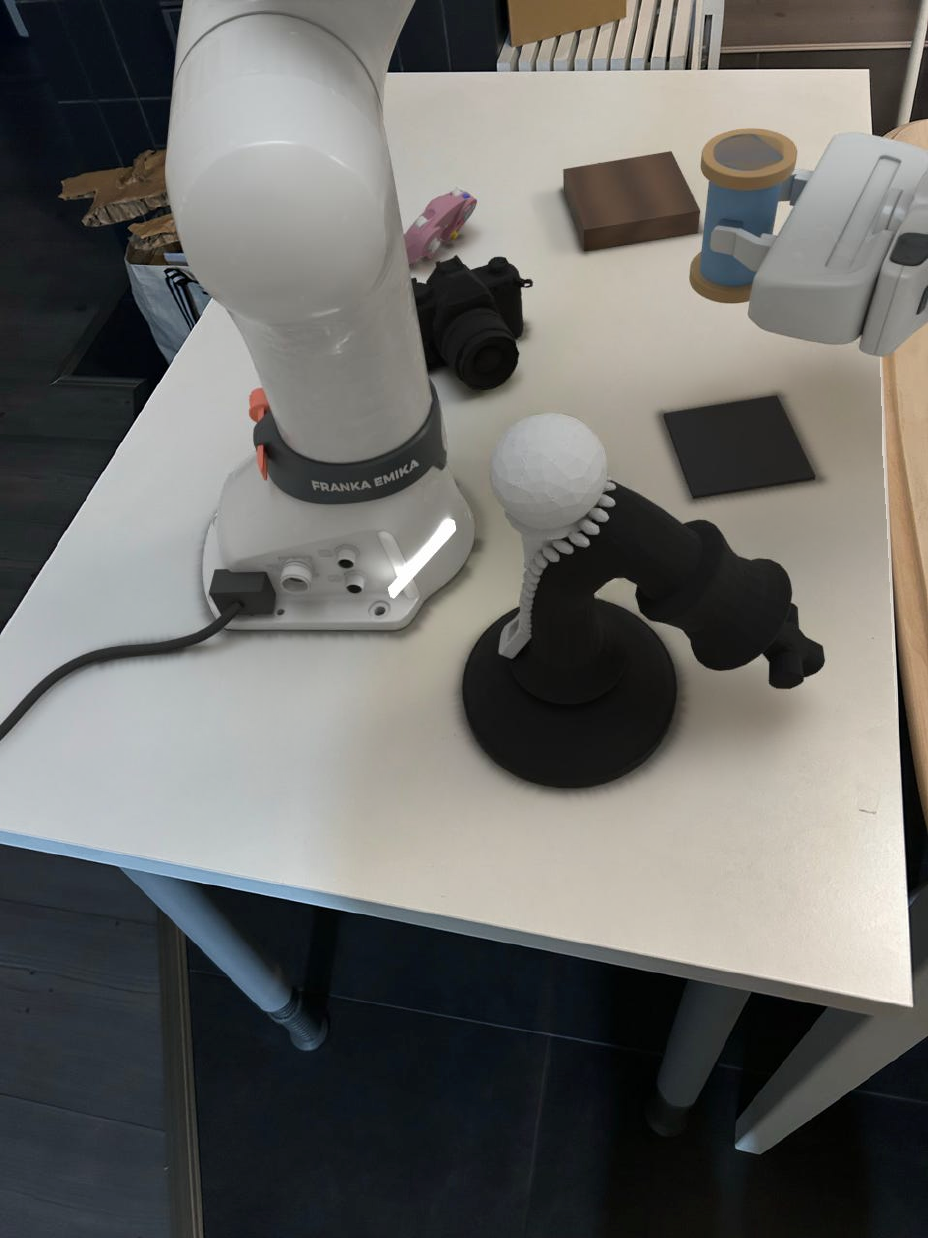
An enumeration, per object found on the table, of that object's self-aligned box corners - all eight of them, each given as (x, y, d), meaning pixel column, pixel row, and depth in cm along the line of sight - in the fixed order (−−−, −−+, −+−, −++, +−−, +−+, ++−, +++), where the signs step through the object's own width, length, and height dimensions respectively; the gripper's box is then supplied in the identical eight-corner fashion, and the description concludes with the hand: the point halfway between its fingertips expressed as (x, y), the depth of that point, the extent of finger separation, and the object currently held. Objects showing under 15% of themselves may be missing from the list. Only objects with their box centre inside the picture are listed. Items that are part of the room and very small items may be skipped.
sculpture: (478, 599, 71) (436, 331, 51) (796, 614, 67) (888, 332, 47) (449, 778, 63) (384, 543, 42) (812, 809, 59) (932, 565, 38)
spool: (701, 309, 70) (716, 183, 62) (680, 261, 74) (691, 136, 66) (785, 295, 70) (810, 167, 62) (759, 248, 73) (780, 121, 65)
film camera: (411, 422, 84) (394, 341, 76) (376, 361, 89) (358, 280, 82) (561, 367, 86) (559, 283, 78) (519, 311, 91) (513, 228, 84)
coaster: (692, 499, 75) (693, 495, 74) (663, 416, 81) (663, 412, 80) (815, 479, 75) (815, 476, 74) (776, 398, 80) (777, 394, 80)
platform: (583, 251, 96) (583, 229, 94) (563, 190, 103) (563, 168, 101) (698, 232, 96) (700, 209, 94) (669, 172, 103) (671, 150, 101)
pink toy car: (416, 286, 98) (431, 241, 92) (384, 258, 98) (396, 211, 92) (471, 238, 102) (489, 191, 96) (440, 211, 102) (456, 163, 96)
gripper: (974, 122, 65) (779, 97, 70) (903, 291, 55) (682, 248, 60) (946, 206, 70) (766, 177, 75) (876, 374, 60) (675, 328, 65)
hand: (728, 210), depth 68 cm, fingers closed on spool, 5 cm apart
